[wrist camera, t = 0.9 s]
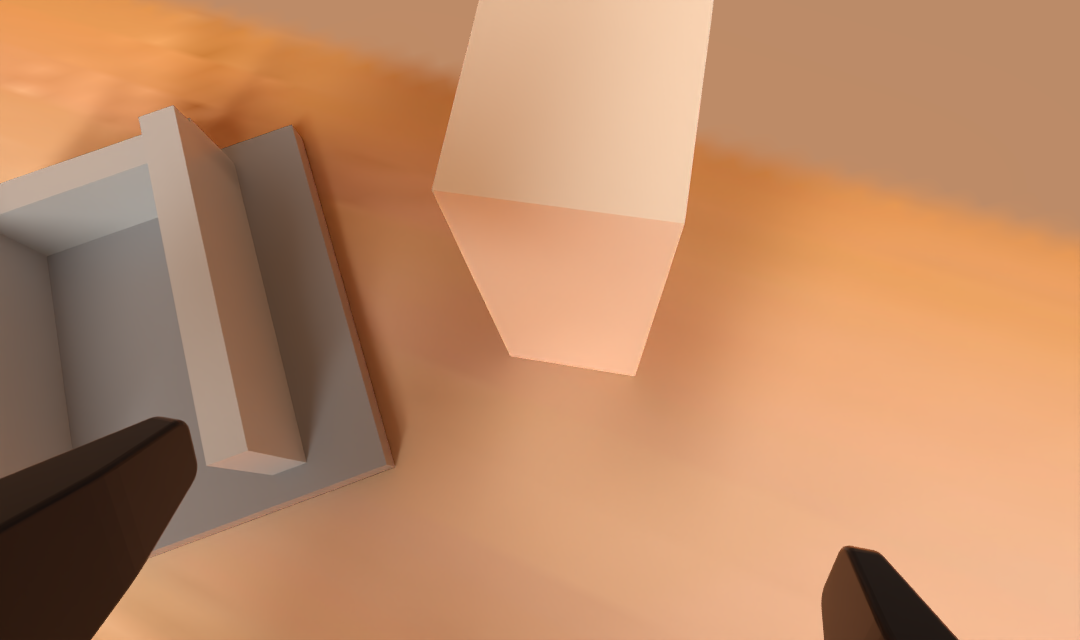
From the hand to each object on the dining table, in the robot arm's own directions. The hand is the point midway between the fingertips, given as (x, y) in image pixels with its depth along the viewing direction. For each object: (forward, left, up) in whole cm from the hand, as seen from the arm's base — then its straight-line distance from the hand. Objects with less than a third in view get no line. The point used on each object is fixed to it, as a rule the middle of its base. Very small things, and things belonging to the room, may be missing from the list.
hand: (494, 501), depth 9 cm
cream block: (+7, +1, -14) cm, 16 cm away
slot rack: (0, +15, -14) cm, 21 cm away
